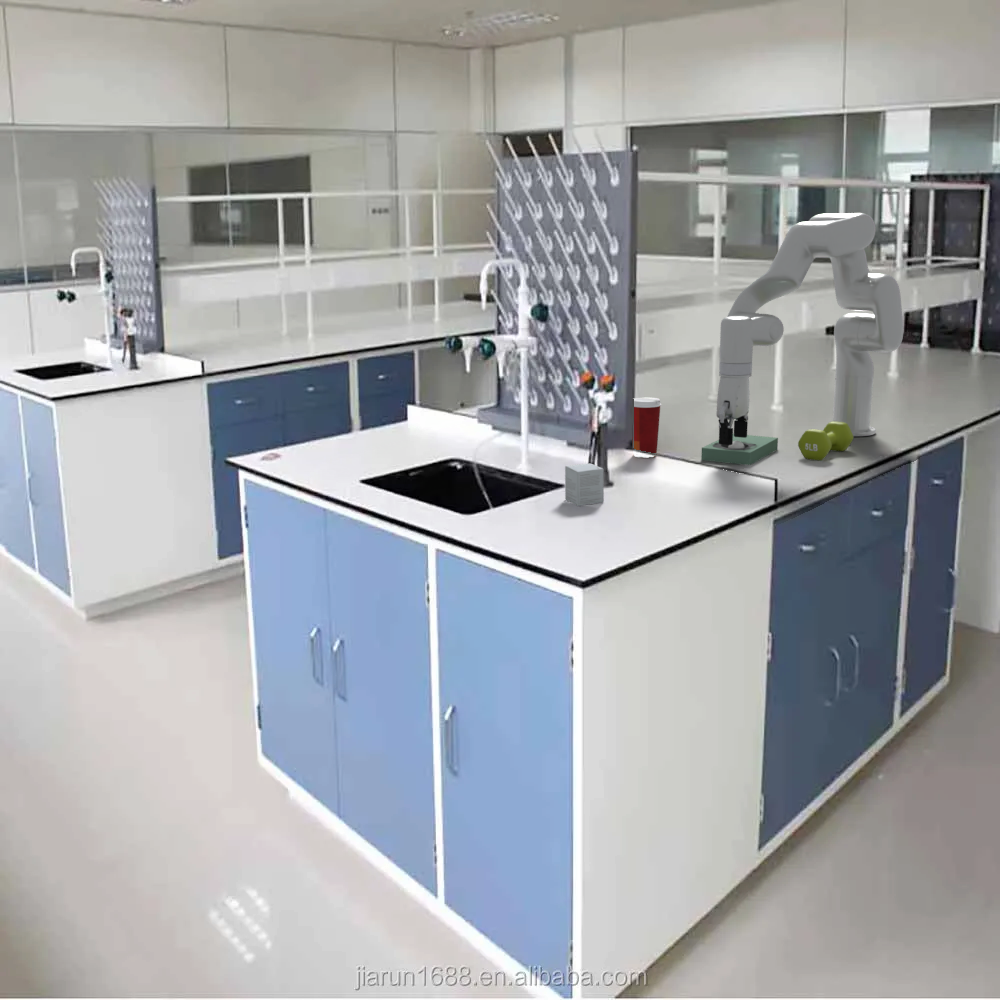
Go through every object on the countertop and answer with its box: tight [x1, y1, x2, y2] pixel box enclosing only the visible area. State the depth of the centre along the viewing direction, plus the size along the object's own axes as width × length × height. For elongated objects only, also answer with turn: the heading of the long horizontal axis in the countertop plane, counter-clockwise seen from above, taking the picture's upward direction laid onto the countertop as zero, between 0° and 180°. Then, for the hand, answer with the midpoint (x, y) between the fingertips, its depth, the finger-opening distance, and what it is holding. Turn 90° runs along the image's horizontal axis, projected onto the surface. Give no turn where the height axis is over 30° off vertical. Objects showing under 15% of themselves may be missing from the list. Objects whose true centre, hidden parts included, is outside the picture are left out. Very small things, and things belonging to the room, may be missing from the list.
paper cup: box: [633, 396, 663, 453], centre depth 259 cm, size 8×8×14 cm
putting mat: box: [700, 433, 779, 466], centre depth 260 cm, size 20×12×3 cm, turn 147°
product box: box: [564, 462, 605, 507], centre depth 219 cm, size 6×6×7 cm
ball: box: [728, 441, 745, 448], centre depth 257 cm, size 4×4×4 cm
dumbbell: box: [797, 420, 854, 461], centre depth 258 cm, size 16×8×7 cm, turn 138°
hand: (733, 440), depth 255 cm, fingers open, 9 cm apart
